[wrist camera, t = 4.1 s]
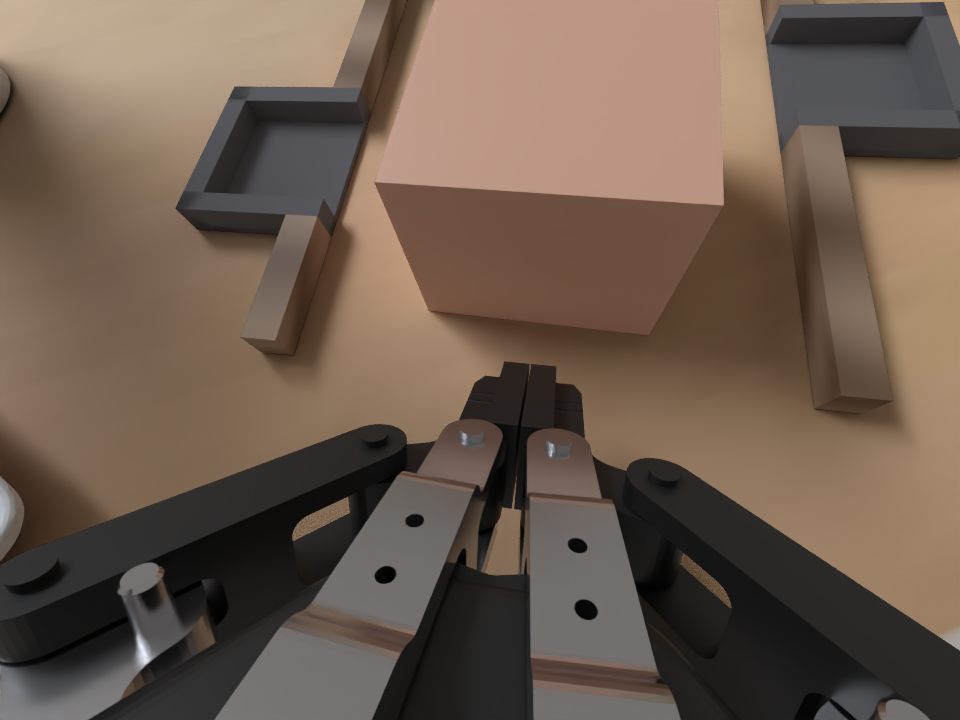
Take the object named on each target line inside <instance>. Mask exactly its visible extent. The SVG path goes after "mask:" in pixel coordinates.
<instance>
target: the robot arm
mask: <svg viewBox="0 0 960 720" xmlns="http://www.w3.org/2000/svg"><path fill="white" fill-rule="evenodd" d="M9 94H10V81H9V78H8V75H7V74H6V73H5V72H4V71H3V70H2V69H1V68H0V113H1V112H2V110H3V108H4V107H5V105H6V103H7V100H8V97H9ZM528 378H529V381H528ZM516 477H517V481H516ZM515 483H516V493H515V506H514V509H519V510H521V520H520V531H519V556H518V575H498V576H495V575H488V574H485V571H486V568H487V564H488V561H489V558H490V554H491V551H492V547H493V544H494V541H495V537H496V533H497V522H498V520H499V519H500V515H501V510H502V507H504V508H511V509H512V502H513V496H514V490H515ZM346 497H348V499H349V508H350V513H349V514H347V515H345V516H343V517H341V518H339V519H337V520H335V521H333V522H331V523H329V524H327V525H325V526H323V527H321V528H319V529H317V530H315V531H313V532H311V533H309V534H307V535H305V536H303V537H301V538H299V539H297V540H295V541H292V533H293V530H294V528H295V527H296V525H297V524H298V523H299V522H300V521H301V520H302V519H303V518H304V517H306V516H308V515H310V514H312V513H314V512H316V511H318V510H320V509H322V508H325V507H327V506H329V505H331V504H333V503H335V502H337V501H339V500H342V499H344V498H346ZM683 553H684V554H686V555H687V556H688V557H689V558H690V559H692V560H693V561H694V562H695V563H696V564H698V565H699V566H700V567H701V568H702V569H703V570H705V571H706V572H707V573H708V574H709V575H711V576H712V577H713V578H714V579H715V580H716V581H717V582H719V583H720V585H721V586H722V587H723V588H724V590H725V591H726V593H727V595H728V597H729V599H730V602H731V607H732V610H731V609H730V608H729V607H728V606H727V605H726V604H724V603H723V602H722V601H721V600H720V599H719V598H718V597H716V596H715V595H714V594H713V593H712V592H711V591H710V590H708V589H707V588H706V587H705V586H704V585H703V584H702V583H700V582H699V581H698V580H697V579H696V578H695V577H694V576H693V575H691V574H690V573H689V572H688V571H687V570H686V569H685V568H683V567H682V566H681V565H680V562H681V559H682V555H683ZM0 680H1V690H0V720H960V651H959V650H958V649H956V648H955V647H953V646H952V645H950V644H949V643H947V642H946V641H944V640H943V639H941V638H940V637H938V636H937V635H935V634H934V633H932V632H931V631H929V630H928V629H926V628H925V627H923V626H922V625H920V624H919V623H917V622H916V621H914V620H913V619H911V618H910V617H908V616H907V615H905V614H904V613H902V612H901V611H899V610H898V609H896V608H895V607H893V606H891V605H890V604H888V603H887V602H885V601H884V600H882V599H881V598H879V597H878V596H876V595H875V594H873V593H872V592H870V591H869V590H867V589H866V588H864V587H863V586H861V585H860V584H858V583H857V582H855V581H854V580H852V579H851V578H849V577H848V576H846V575H845V574H843V573H842V572H840V571H839V570H837V569H836V568H834V567H833V566H831V565H830V564H828V563H827V562H825V561H824V560H822V559H821V558H819V557H818V556H816V555H815V554H813V553H811V552H810V551H808V550H807V549H805V548H804V547H802V546H801V545H799V544H798V543H796V542H795V541H793V540H792V539H790V538H789V537H787V536H786V535H784V534H783V533H781V532H780V531H778V530H777V529H775V528H774V527H772V526H771V525H769V524H768V523H766V522H765V521H763V520H762V519H760V518H759V517H757V516H756V515H754V514H753V513H751V512H750V511H748V510H747V509H745V508H744V507H742V506H741V505H739V504H738V503H736V502H735V501H733V500H731V499H730V498H728V497H727V496H725V495H724V494H722V493H721V492H719V491H718V490H716V489H715V488H713V487H712V486H710V485H709V484H707V483H706V482H704V481H703V480H701V479H700V478H698V477H697V476H695V475H694V474H692V473H691V472H689V471H688V470H686V469H685V468H683V467H681V466H679V465H677V464H675V463H672V462H669V461H666V460H661V459H654V458H644V459H639V460H636V461H634V462H632V463H631V464H630V465H629V466H628V468H627V471H624V470H621V469H618V468H615V467H612V466H609V465H607V464H605V463H603V462H601V461H599V460H598V459H596V458H595V457H594V456H593V455H592V453H591V449H590V446H589V444H588V442H587V441H586V440H585V435H584V422H583V408H582V395H581V393H580V392H579V391H578V389H577V388H576V387H575V386H574V385H571V384H561V383H556V366H546V365H535V364H531V369H530V375H529V364H525V363H514V362H504V365H503V368H502V372H501V375H500V377H492V376H484V377H483V378H481V379H480V380H478V381H477V382H475V384H474V386H473V388H472V391H471V393H470V396H469V398H468V401H467V403H466V405H465V407H464V410H463V412H462V414H461V417H460V419H459V420H458V421H455V422H453V423H451V424H449V425H447V426H446V427H445V428H444V429H443V431H442V433H441V434H440V436H439V437H438V439H437V441H434V442H429V443H418V444H407V438H406V435H405V433H404V432H403V431H402V430H400V429H399V428H397V427H394V426H391V425H383V424H375V425H368V426H364V427H360V428H358V429H355V430H352V431H349V432H347V433H344V434H341V435H339V436H336V437H333V438H331V439H328V440H325V441H322V442H320V443H317V444H314V445H312V446H309V447H306V448H304V449H301V450H298V451H295V452H293V453H290V454H287V455H285V456H282V457H279V458H277V459H274V460H271V461H269V462H266V463H263V464H260V465H258V466H255V467H252V468H250V469H247V470H244V471H242V472H239V473H236V474H233V475H231V476H228V477H225V478H223V479H220V480H217V481H215V482H212V483H209V484H206V485H204V486H201V487H198V488H196V489H193V490H190V491H188V492H185V493H182V494H179V495H177V496H174V497H171V498H169V499H166V500H163V501H161V502H158V503H155V504H153V505H150V506H147V507H144V508H142V509H139V510H136V511H134V512H131V513H128V514H126V515H123V516H120V517H117V518H115V519H112V520H109V521H107V522H104V523H101V524H99V525H96V526H93V527H90V528H88V529H85V530H82V531H80V532H77V533H74V534H72V535H69V536H66V537H63V538H61V539H58V540H55V541H53V542H50V543H47V544H45V545H42V546H39V547H36V548H34V549H31V550H29V551H26V552H24V553H22V554H20V555H18V556H16V557H14V558H12V559H10V560H8V561H7V562H5V563H3V564H2V565H0Z"/></svg>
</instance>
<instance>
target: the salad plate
mask: <svg viewBox="0 0 960 720" xmlns="http://www.w3.org/2000/svg"><path fill="white" fill-rule="evenodd" d="M23 519H24V506H23V502H22V499H21V498H20V496H19V495H18V494H17V492H16V491H15V490H14V489H13V488H12V487H11V486H10V485H9V484H8V483H7V482H6V481H5V480H4V479H3V478H2V477H1V476H0V561H1V560H2V559H3V558H4V556H5V555H6V554H7V552H8V551H9V550H10V548H11V547H12V546H13V544H14V543H15V541H16V539H17V537H18V535H19V533H20V531H21V527H22V523H23Z"/></svg>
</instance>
